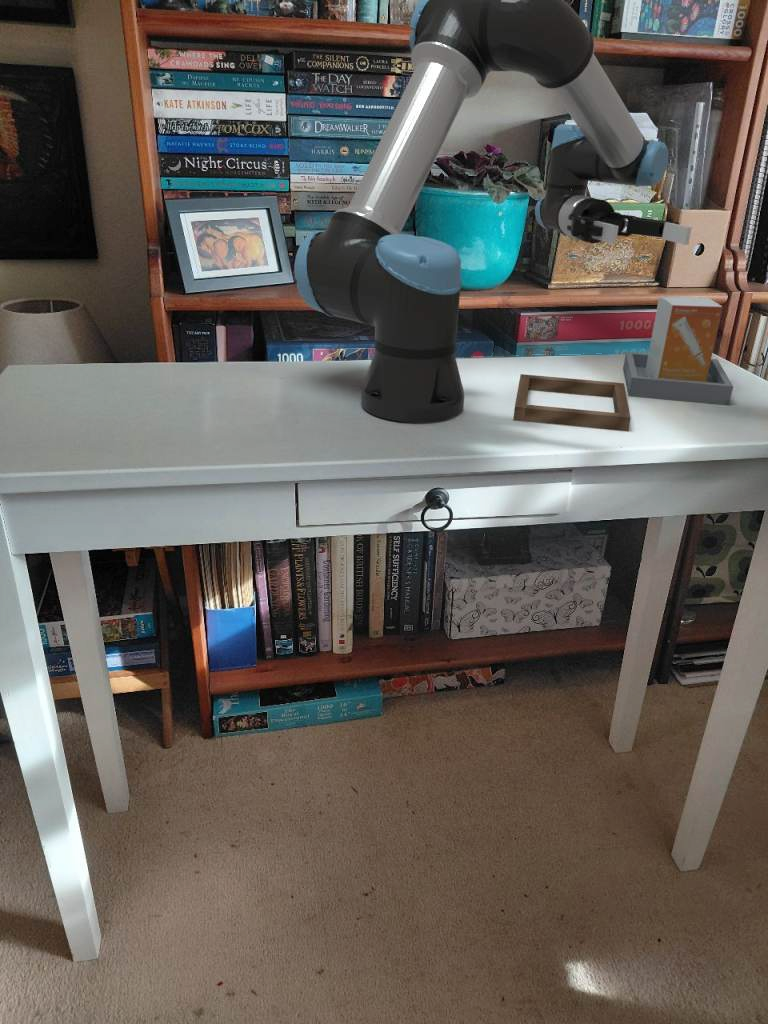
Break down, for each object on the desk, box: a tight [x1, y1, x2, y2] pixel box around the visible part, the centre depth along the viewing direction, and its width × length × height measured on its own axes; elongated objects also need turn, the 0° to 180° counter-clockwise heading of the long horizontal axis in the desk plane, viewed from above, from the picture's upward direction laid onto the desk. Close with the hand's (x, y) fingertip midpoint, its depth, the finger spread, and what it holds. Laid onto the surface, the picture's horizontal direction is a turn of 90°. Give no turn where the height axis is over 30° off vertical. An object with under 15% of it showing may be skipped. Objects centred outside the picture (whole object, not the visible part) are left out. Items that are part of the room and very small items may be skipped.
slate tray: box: [622, 351, 734, 406], centre depth 133 cm, size 15×15×3 cm
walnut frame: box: [512, 373, 631, 432], centre depth 123 cm, size 16×16×2 cm
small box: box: [645, 296, 723, 382], centre depth 131 cm, size 8×6×13 cm
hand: (652, 235), depth 133 cm, fingers open, 13 cm apart
